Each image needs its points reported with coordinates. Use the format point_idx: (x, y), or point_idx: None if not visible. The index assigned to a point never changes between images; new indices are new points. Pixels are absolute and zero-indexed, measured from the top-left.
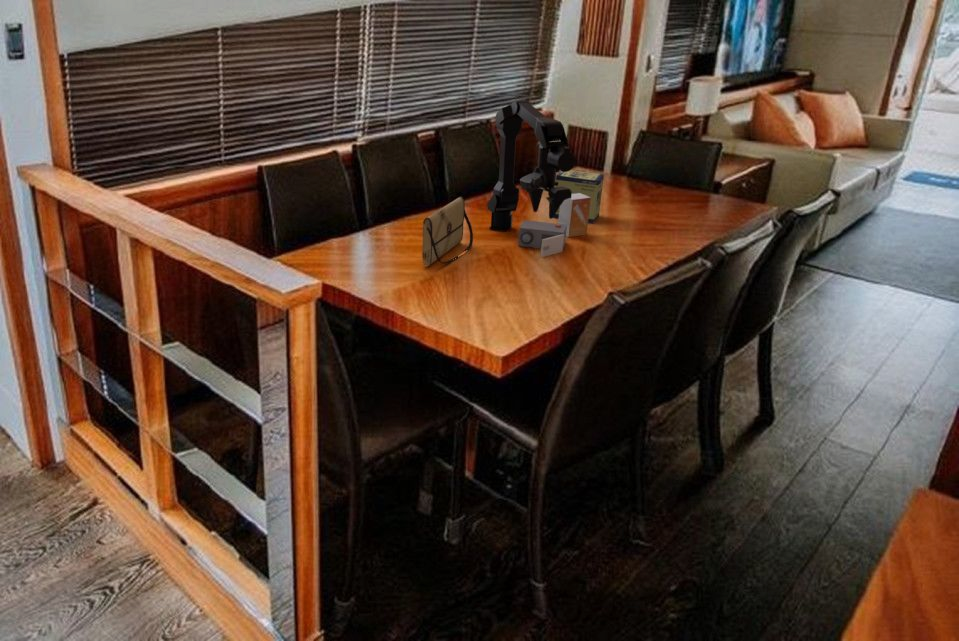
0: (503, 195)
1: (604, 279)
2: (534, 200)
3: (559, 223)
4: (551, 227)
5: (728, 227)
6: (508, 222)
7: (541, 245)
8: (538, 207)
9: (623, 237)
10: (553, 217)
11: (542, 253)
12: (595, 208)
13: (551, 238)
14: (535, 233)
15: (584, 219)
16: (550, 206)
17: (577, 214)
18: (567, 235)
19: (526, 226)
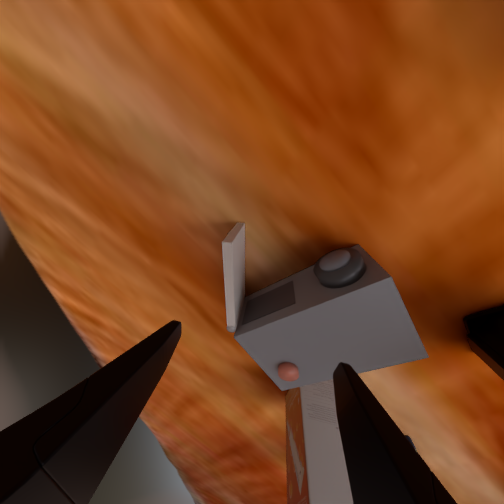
0: None
1: (47, 220)
2: (391, 485)
3: None
4: (295, 351)
5: (192, 479)
6: (494, 347)
7: (291, 280)
8: (336, 410)
9: (234, 413)
10: (405, 436)
11: (236, 226)
12: None
13: (224, 278)
14: (316, 293)
15: (288, 435)
16: (66, 409)
17: (296, 447)
18: None
19: (373, 307)
